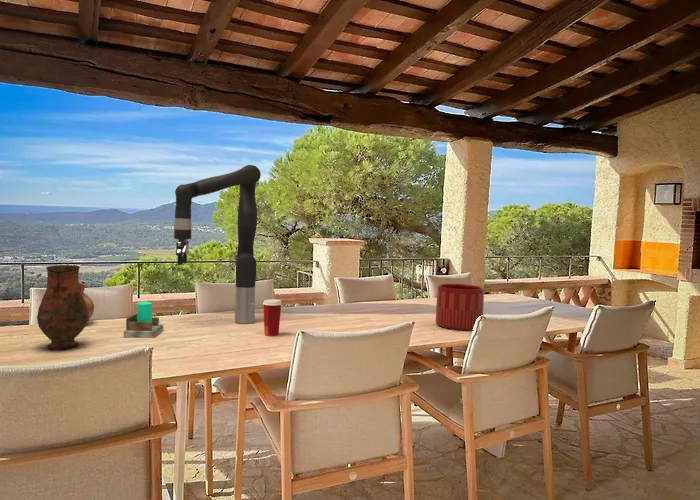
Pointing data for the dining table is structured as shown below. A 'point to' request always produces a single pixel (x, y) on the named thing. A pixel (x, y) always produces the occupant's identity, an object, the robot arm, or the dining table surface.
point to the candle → (144, 312)
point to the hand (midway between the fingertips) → (182, 264)
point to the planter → (459, 305)
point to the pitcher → (62, 308)
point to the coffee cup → (272, 317)
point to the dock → (142, 328)
